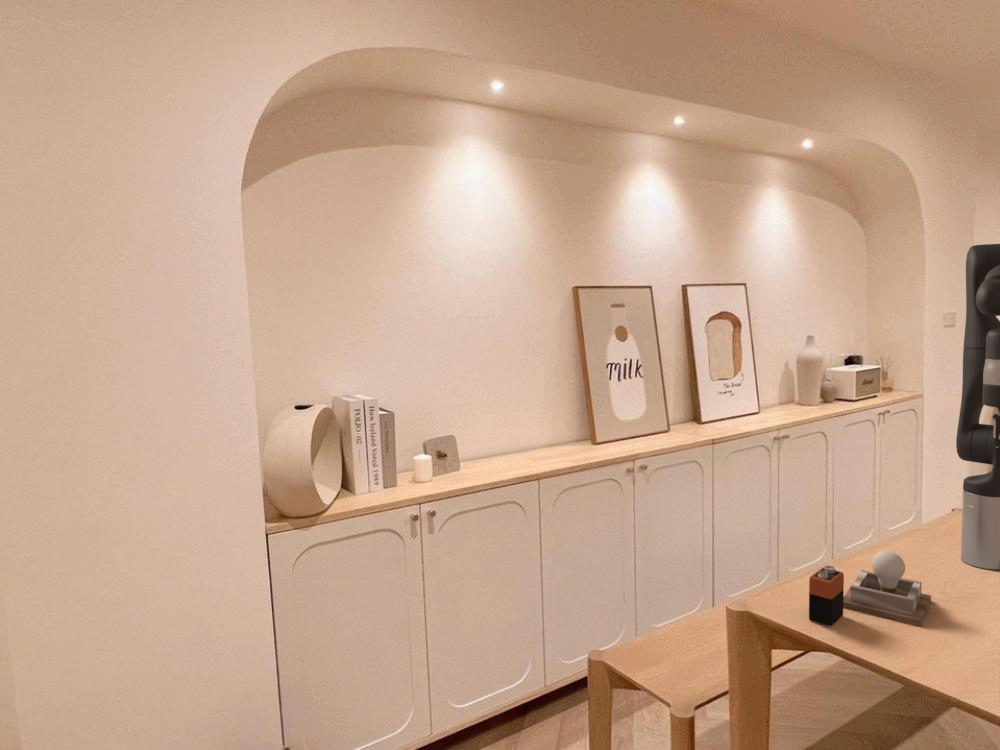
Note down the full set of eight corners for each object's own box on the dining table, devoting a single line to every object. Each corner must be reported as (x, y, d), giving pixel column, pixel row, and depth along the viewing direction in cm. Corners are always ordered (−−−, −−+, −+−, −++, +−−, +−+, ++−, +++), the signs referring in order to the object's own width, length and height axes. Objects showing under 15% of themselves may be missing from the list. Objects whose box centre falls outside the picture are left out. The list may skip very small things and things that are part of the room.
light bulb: (893, 607, 129) (894, 559, 128) (865, 596, 134) (865, 550, 133) (910, 600, 132) (911, 553, 131) (882, 590, 137) (883, 544, 136)
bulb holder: (855, 584, 143) (856, 566, 143) (930, 600, 134) (931, 581, 133) (840, 606, 132) (840, 587, 132) (920, 626, 123) (921, 605, 123)
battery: (844, 616, 128) (844, 567, 128) (831, 627, 124) (831, 577, 123) (821, 609, 132) (821, 562, 131) (807, 620, 127) (808, 571, 126)
